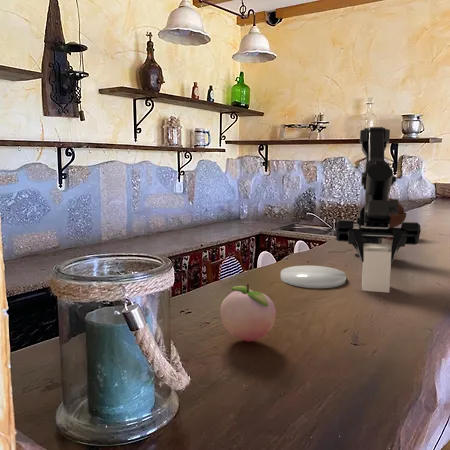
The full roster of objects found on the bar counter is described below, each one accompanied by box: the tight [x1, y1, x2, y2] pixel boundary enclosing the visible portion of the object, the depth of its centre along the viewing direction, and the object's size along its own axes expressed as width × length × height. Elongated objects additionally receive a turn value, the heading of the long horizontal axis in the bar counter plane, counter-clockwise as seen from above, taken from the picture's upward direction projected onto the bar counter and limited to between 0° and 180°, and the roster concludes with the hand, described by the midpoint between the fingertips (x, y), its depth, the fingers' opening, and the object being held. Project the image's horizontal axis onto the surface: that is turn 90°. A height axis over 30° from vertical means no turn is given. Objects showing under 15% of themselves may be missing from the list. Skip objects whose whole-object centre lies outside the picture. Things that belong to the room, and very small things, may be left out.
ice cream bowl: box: [385, 197, 407, 240], centre depth 167 cm, size 11×11×15 cm
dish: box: [280, 265, 347, 289], centre depth 112 cm, size 16×16×2 cm
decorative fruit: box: [219, 283, 277, 343], centre depth 74 cm, size 9×8×10 cm
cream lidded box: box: [361, 243, 392, 293], centre depth 104 cm, size 6×6×10 cm
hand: (376, 261), depth 102 cm, fingers closed on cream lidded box, 6 cm apart
